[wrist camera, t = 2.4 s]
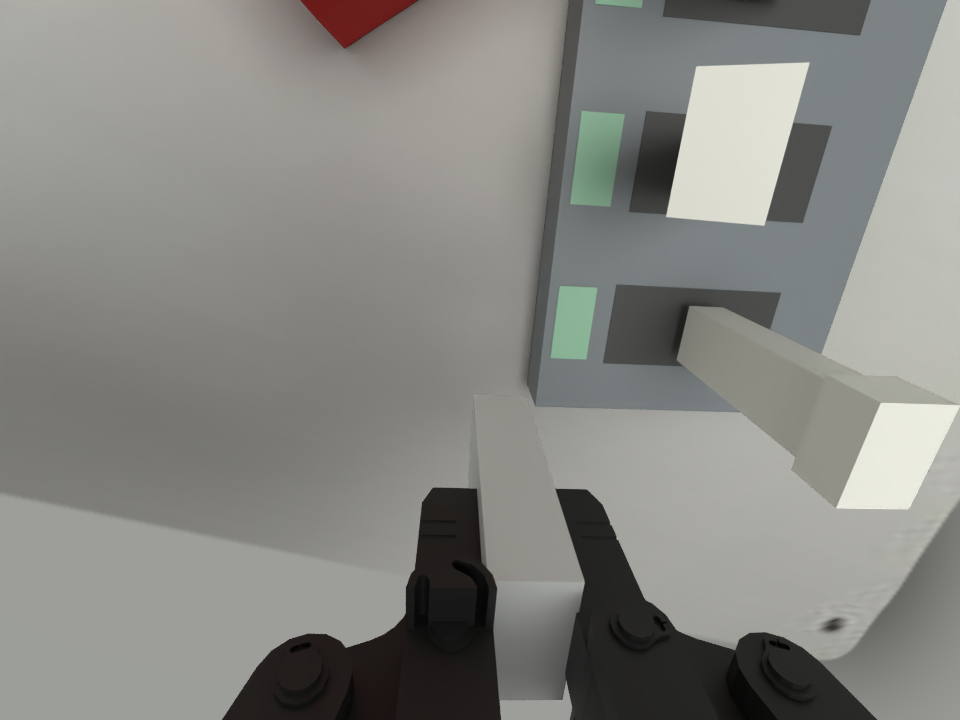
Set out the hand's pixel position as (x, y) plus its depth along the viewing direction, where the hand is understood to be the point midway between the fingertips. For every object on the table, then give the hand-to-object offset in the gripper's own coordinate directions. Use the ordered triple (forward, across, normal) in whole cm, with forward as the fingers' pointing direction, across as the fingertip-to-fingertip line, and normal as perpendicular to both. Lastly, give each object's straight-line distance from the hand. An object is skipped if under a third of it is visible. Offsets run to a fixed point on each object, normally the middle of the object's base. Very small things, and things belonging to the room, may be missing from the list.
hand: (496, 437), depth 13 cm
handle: (+12, +12, +8) cm, 18 cm away
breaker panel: (+15, +12, +8) cm, 20 cm away
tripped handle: (+12, +12, 0) cm, 16 cm away
